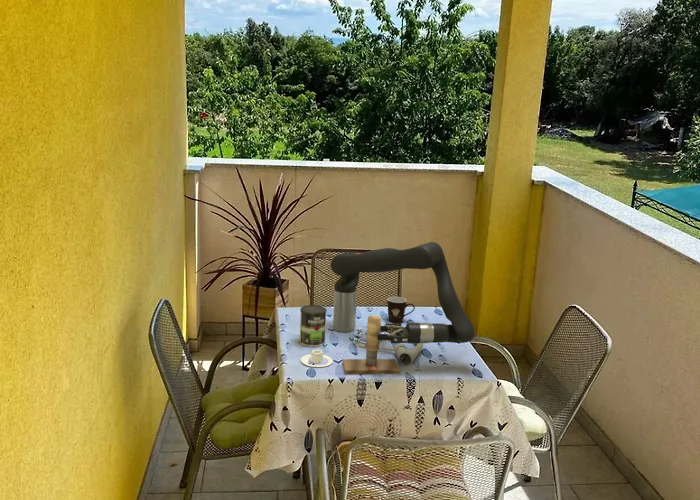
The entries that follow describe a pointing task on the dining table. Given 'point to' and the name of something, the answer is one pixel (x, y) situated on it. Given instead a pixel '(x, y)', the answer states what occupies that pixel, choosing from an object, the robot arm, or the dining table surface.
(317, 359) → the candle holder
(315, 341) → the coffee can
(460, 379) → the dining table surface
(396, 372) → the board
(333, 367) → the dining table surface
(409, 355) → the faucet
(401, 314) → the coffee mug
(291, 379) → the dining table surface
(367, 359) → the tan grey cylinder
